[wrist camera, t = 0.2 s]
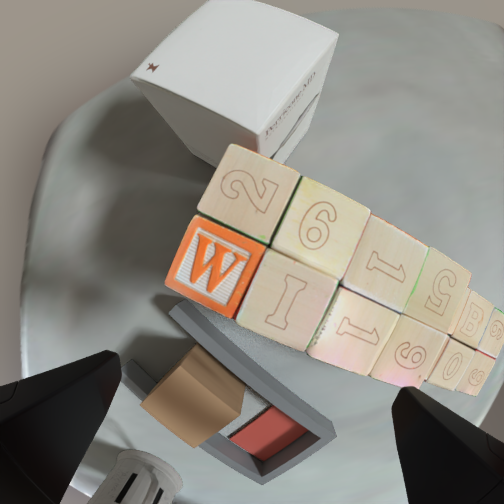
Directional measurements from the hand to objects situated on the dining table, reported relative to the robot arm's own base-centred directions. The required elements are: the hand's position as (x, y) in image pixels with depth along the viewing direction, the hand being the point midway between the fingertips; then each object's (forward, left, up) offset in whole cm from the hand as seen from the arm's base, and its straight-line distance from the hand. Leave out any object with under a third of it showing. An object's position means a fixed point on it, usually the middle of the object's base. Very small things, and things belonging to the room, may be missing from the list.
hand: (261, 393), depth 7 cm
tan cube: (-9, -1, -15) cm, 18 cm away
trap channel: (-9, -4, -15) cm, 18 cm away
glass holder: (-24, -5, -15) cm, 29 cm away
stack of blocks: (+5, -4, -15) cm, 17 cm away
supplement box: (+9, +10, -15) cm, 20 cm away
